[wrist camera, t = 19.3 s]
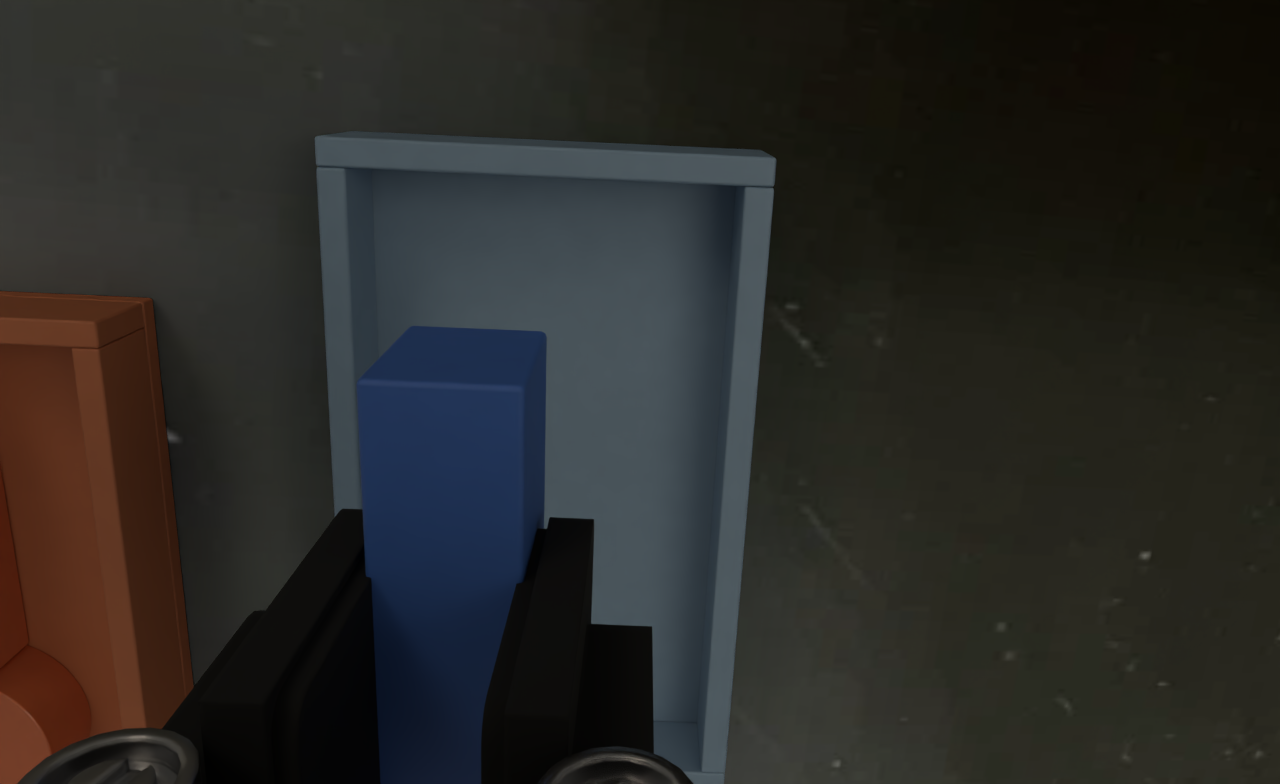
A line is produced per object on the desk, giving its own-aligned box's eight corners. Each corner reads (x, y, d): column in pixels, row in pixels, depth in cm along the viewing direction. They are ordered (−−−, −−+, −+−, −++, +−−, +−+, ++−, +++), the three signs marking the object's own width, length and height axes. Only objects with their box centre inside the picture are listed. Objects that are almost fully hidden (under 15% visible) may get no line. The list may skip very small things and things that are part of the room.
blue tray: (350, 131, 22) (313, 135, 19) (763, 150, 22) (777, 156, 19) (375, 715, 26) (347, 777, 24) (716, 730, 26) (723, 794, 24)
